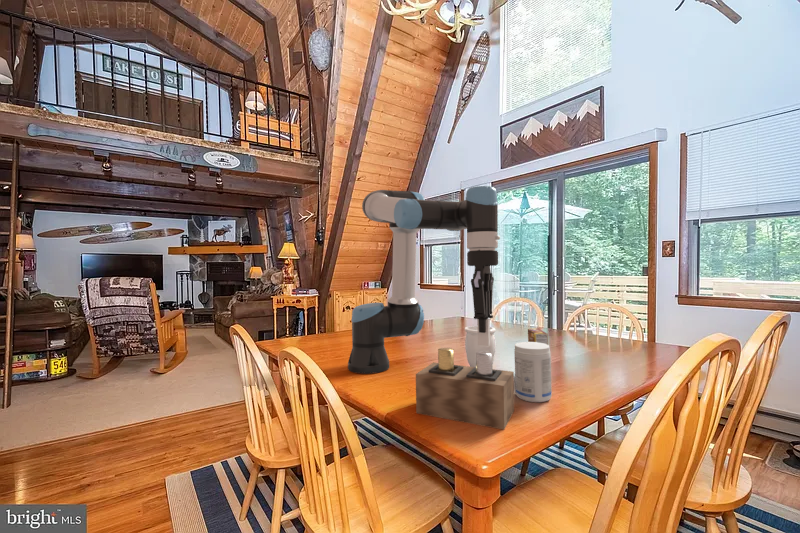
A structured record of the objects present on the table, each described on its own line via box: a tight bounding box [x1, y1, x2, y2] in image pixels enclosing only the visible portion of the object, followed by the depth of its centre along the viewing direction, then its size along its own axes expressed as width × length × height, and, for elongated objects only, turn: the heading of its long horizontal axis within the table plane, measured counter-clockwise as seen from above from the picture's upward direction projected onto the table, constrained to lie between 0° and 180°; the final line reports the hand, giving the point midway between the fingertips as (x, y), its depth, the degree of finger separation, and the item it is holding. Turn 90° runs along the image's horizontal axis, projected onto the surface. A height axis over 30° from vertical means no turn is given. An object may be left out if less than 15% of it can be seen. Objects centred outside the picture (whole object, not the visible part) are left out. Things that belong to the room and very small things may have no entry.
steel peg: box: [476, 351, 493, 377], centre depth 93 cm, size 4×4×10 cm
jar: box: [464, 325, 497, 367], centre depth 131 cm, size 11×10×15 cm
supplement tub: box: [513, 341, 552, 403], centre depth 105 cm, size 10×10×15 cm
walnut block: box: [415, 362, 515, 430], centre depth 95 cm, size 22×12×11 cm, turn 63°
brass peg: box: [437, 347, 455, 372], centre depth 97 cm, size 4×4×10 cm
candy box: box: [527, 328, 549, 345], centre depth 123 cm, size 9×4×15 cm, turn 177°
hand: (483, 344), depth 93 cm, fingers closed
